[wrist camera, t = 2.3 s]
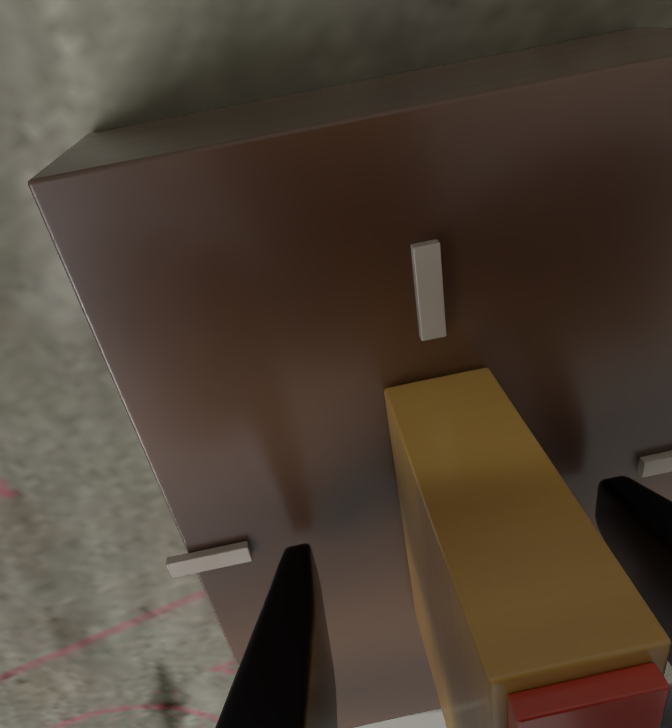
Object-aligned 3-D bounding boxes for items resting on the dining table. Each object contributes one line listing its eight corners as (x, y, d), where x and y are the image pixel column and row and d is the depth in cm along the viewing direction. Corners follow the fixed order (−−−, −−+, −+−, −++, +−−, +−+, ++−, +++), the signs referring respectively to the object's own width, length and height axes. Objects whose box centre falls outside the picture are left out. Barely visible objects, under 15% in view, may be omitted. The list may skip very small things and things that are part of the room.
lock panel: (599, 557, 16) (668, 666, 14) (255, 632, 16) (256, 757, 13) (662, 22, 9) (826, 27, 7) (64, 138, 9) (-13, 190, 7)
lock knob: (494, 597, 12) (624, 908, 8) (415, 614, 12) (504, 936, 8) (488, 365, 9) (693, 669, 5) (382, 386, 9) (499, 712, 5)
